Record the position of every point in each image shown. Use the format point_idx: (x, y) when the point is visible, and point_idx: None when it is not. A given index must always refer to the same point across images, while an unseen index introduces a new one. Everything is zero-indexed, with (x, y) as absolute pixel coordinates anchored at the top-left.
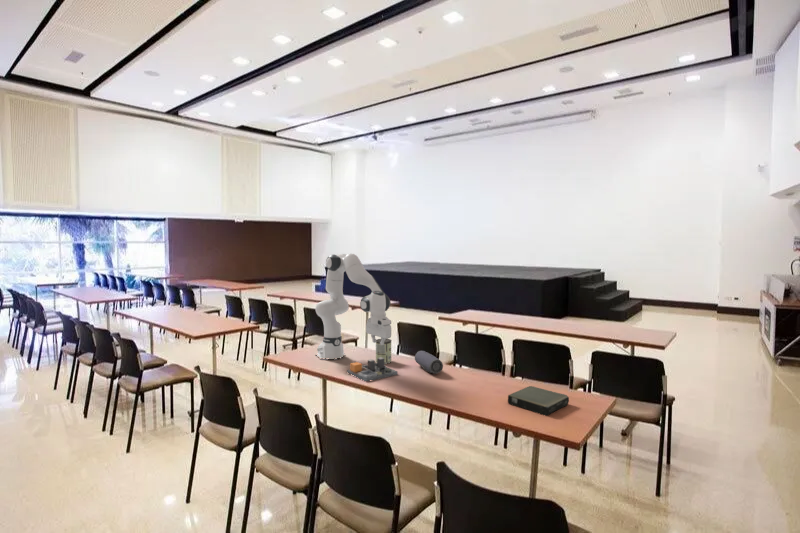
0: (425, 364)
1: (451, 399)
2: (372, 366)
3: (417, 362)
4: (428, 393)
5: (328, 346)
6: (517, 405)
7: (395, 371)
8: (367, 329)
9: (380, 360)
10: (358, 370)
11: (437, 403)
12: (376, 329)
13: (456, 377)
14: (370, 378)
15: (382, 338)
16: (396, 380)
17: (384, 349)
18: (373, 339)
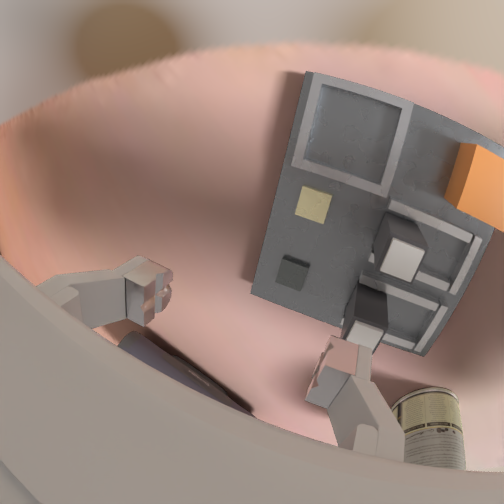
0: (157, 364)
1: (23, 164)
2: (381, 235)
3: (240, 410)
4: (58, 157)
5: None
6: None
7: (255, 285)
8: None
9: (353, 313)
10: (454, 171)
11: (26, 116)
12: (18, 480)
13: (102, 335)
14: (300, 101)
15: (42, 284)
16: (201, 201)
17: (408, 452)
18: (347, 381)
